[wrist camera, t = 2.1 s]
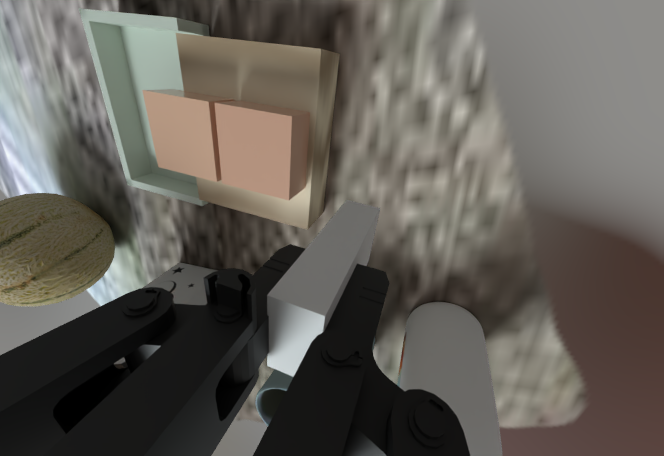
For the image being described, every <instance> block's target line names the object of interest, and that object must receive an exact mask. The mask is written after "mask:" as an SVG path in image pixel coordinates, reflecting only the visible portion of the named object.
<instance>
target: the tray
mask: <svg viewBox="0 0 664 456" xmlns="http://www.w3.org/2000/svg"><path fill="white" fill-rule="evenodd" d="M79 11H80V14H81V18H82V22H83V25H84V29H85V33H86V36H87V40H88V43H89V47H90V51H91V54H92V58H93V62H94V65H95V69H96V72H97V76H98V80H99V83H100V87H101V91H102V94H103V98H104V101H105V105H106V109H107V112H108V116H109V120H110V123H111V127H112V130H113V134H114V138H115V141H116V145H117V149H118V152H119V156H120V159H121V163H122V167H123V170H124V174H125V178H126V181H127V185H130V186H133V187H137V188H140V189H144V190H147V191H151V192H154V193H158V194H161V195H165V196H168V197H172V198H176V199H179V200H183V201H186V202H190V203H193V204H197V205H200V206H204V205H206V204H208V203H209V202H206V201H202V200H199V194H198V187H197V180H196V177H195V176H191V175H187V174H183V173H180V172H176V171H172V170H168V169H164V168H160V167H158V163H157V158H156V153H155V148H154V144H153V139H152V134H151V129H150V125H149V120H148V115H147V110H146V106H145V101H144V96H143V91H142V90H160V89H177V90H183V91H184V89H183V82H182V75H181V68H180V61H179V54H178V47H177V40H176V33H182V34H191V35H200V36H209V25H205V24H201V23H196V22H192V21H188V20H184V19H180V18H174V17H164V16H153V15H142V14H132V13H121V12H110V11H100V10H89V9H79ZM209 37H210V36H209Z"/></svg>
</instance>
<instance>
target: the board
mask: <svg viewBox="0 0 664 456" xmlns="http://www.w3.org/2000/svg"><path fill="white" fill-rule="evenodd" d="M176 40H177V47H178V54H179V61H180V68H181V75H182V82H183V89H184V91H188V92H194V93H200V94H206V95H212V96H218V97H224V98H230V99H235V101H238V100H242V101H247V102H253V103H259V104H265V105H271V106H277V107H283V108H289V109H295V110H301V111H307V112H310V122H309V138H308V153H307V169H306V184H305V188H304V189H303V190H302V191H301V192H299V193H298V194H297V195H295V196H294V197H293V198H292V199H290V200H285V199H281V198H277V197H273V196H269V195H266V194H262V193H258V192H254V191H250V190H246V189H242V188H238V187H234V186H230V185H226V184H223V183H222V180H220V181H218V182H215V181H211V180H207V179H203V178H199V177H196V180H197V187H198V194H199V200H202V201H206V202H210V203H213V204H217V205H220V206H224V207H228V208H231V209H235V210H238V211H242V212H246V213H249V214H253V215H256V216H260V217H263V218H267V219H271V220H274V221H278V222H281V223H285V224H289V225H292V226H296V227H299V228H303V229H307V230H308V229H309V228H310V227H311V226H312V224H313V223H314V222H315V221H316V220H317V219H318V218H319V217H320V216H321V214H322V213H323V209H324V200H325V190H326V181H327V171H328V161H329V152H330V142H331V133H332V123H333V113H334V104H335V94H336V85H337V75H338V65H339V56H340V54H338V53H335V52H331V51H327V50H324V49H318V48H309V47H300V46H291V45H282V44H273V43H264V42H254V41H245V40H236V39H227V38H218V37H209V36H200V35H191V34H182V33H176Z"/></svg>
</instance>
